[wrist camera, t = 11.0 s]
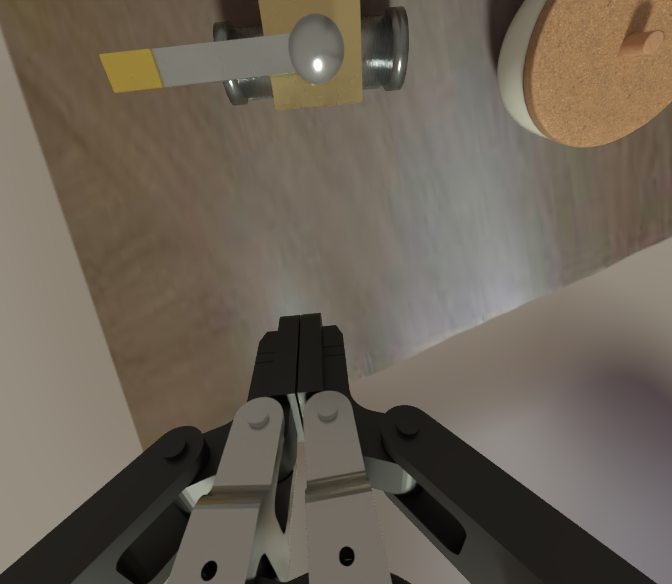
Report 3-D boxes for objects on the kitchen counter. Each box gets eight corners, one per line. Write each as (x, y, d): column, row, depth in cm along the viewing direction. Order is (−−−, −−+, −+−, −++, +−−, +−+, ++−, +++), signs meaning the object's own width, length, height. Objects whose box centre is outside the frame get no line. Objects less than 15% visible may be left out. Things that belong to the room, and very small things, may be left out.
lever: (336, 20, 20) (341, 10, 17) (341, 80, 22) (346, 80, 19) (121, 44, 20) (92, 38, 17) (143, 103, 22) (120, 106, 19)
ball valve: (390, 8, 26) (417, -15, 20) (389, 94, 29) (412, 97, 23) (224, 22, 26) (198, 3, 19) (242, 108, 29) (225, 115, 23)
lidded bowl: (592, -92, 24) (773, -202, 15) (629, 64, 30) (775, 56, 20) (448, 45, 28) (519, 26, 18) (505, 159, 34) (581, 188, 24)
